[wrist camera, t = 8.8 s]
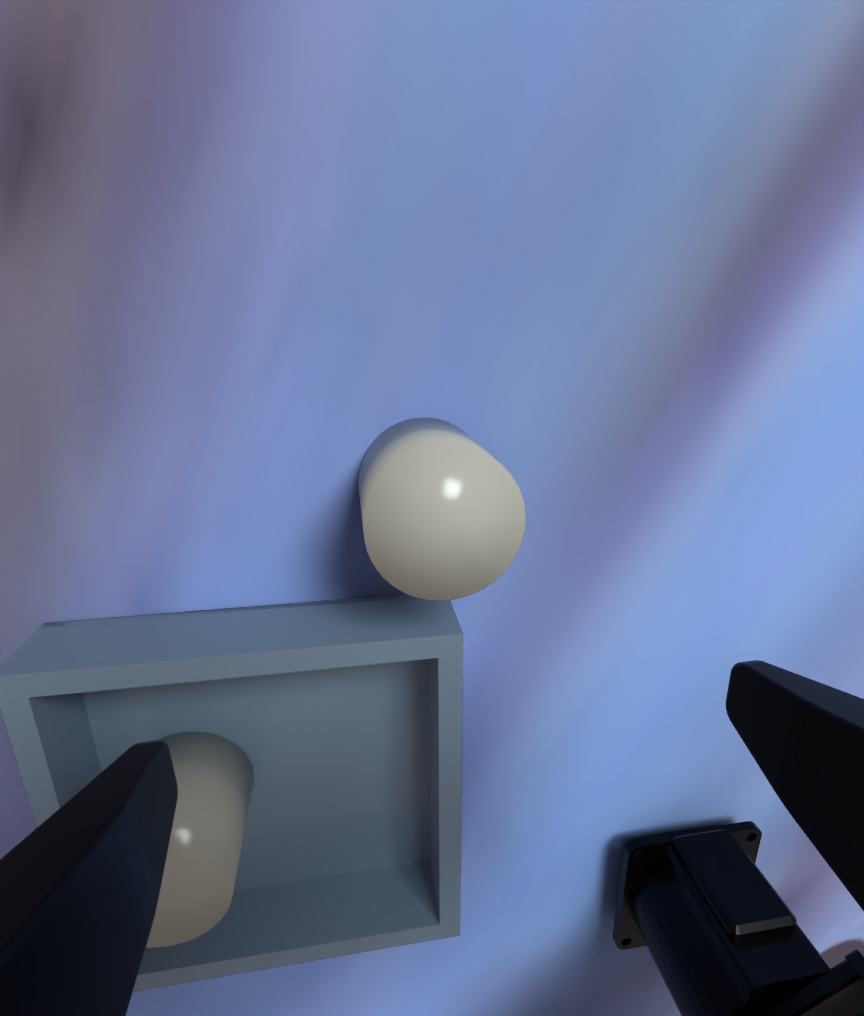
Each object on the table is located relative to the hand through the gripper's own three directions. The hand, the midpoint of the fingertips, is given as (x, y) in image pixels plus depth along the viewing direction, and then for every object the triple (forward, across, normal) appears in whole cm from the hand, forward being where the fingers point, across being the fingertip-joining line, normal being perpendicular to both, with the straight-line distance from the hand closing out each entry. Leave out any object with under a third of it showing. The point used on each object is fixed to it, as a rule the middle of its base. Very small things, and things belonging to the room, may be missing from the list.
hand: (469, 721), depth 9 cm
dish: (+11, +5, +10) cm, 16 cm away
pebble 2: (+11, -1, -1) cm, 11 cm away
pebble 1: (+11, +8, +10) cm, 17 cm away
